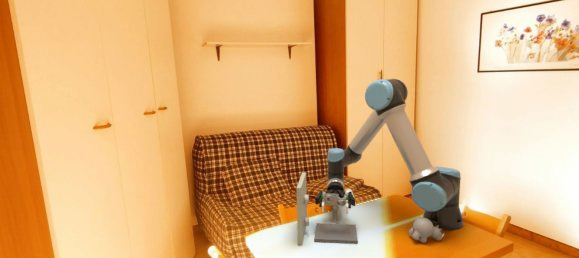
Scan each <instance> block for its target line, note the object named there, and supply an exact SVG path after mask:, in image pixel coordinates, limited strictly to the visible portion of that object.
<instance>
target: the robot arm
mask: <svg viewBox="0 0 579 258" xmlns="http://www.w3.org/2000/svg"><path fill="white" fill-rule="evenodd" d="M365 90H366V91H365V93H364V99H365V103H366V105H367V106H368V107H369V108H370V109H372V112H371V113H370V114H369V116H368V118H366V120H365V122H364V123H363V124H362V126H361V127H360V128H359V130H358V131H357V132H356V134H355V136H354V137H353V138H352V139H351V141H350V143H349V144H348V145H347V147H346V148H345V149H343V148H337V147H334V148H330V149H328V151H327V157H326V158H327V182H326V183H327V185H326V191H323V190H319V191H318V194H317V195H316V197H315V199H314V200H315V201H314V203H315V205H318V206H319V208H321V213H325V206H326V205H325V204H324V200H323V199H321V195H324V193H328V194H338V196H339V197H340V198H343V197H344V195H346V196H348V200H346V205H345V214H349V209H352V207H355V206H356V198H355V196H354V195H353V194H352V193H353V192H352V191H348V192H346V191H345V179H344V178H345V167H347V166H350V165H353V164H356V163H358V162H359V161H361V159H362V157H363V152H365V150H366V149H367V148H368V146H369V145H370V144H371V143H372V141H373V140H374V138H375V137H376V136H377V135H378V133H379V132H380V131H381V130H382V128H383V127H384V126H385V125H386V126H387V129H388V131H389V133H390V135H391V137H392V139H393V141H394V144H395V145H396V148H397V149H398V151H399V154H400V155H401V158H402V159H403V161H404V163H405V166H406V168H407V170H408V172H409V174H410V177H409V179H408V180H409V183H410V186H411V188H412V189H411V198H412V201H413V203H414V204H415V205H416V206H417V207H418V208H419V209H421V210H423V214H422V215H423V216H422V217H423V218H427V219H429V220H430V221H431V222H432V224H433V226H437V225H439V226H438V228H439V229H442V230H447V231H449V230H450V231H451V230H458V229H461V228H462V227H464V218H463V215H462V212H461V208H460V193H461V192H460V191H461V190H460V189H461V179H462V177H461V172H460V171H459V170H458V169H456V168H450V167H443V166H434V165H433V164H432V163H431V160H430V159H429V157H428V156H429V155H427V153H426V150H425V149H424V147H423V145H422V143H421V141H420V139H419V136H418V135H417V133H416V131H415V128H414V127H413V125H412V123H411V121H410V119H409V116H408V115H407V112H406V111H405V110H406V106H407V103H406V100H407V99H408V94H409V93H408V92H409V91H408V87H407V85H406V84H405V83H404V82H403V81H402V80H400V79H396V78H391V79H390V78H389V79H387V78H381V79H378V80H374V81H372V82H371V83H370V84H369V85H368V86H367V87H366V89H365ZM327 199H328V200H330V198H327ZM341 202H343V201H341Z"/></svg>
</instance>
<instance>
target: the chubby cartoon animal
mask: <svg viewBox="0 0 579 258" xmlns="http://www.w3.org/2000/svg"><path fill="white" fill-rule="evenodd" d="M438 226H439V225H437V226H433V224H432V222H431V221H430V220H429V219H427V218H423V216H421V217H418V218H416V219H415V220H414V221H413V223H412V227H411V228H409V230H408V234H409V235H410V236H411V237H412V239H414V240H415V241H419V242H421V243H422V244H426V243H427V241H428V238H429V237H432V238H433V239H434V240H435V241H439V242H440V241H441V240H442V239H443V237H444V236H445V232H443V233H442V230H443V229H439V228H438Z"/></svg>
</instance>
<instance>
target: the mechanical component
mask: <svg viewBox="0 0 579 258" xmlns="http://www.w3.org/2000/svg"><path fill="white" fill-rule="evenodd" d="M327 198H330V200H328V199H327ZM321 199H323V200H324V204H325V206H331V209H332V219H333V221H336V220H337V219H338V214H337V213H338V209H339V207H343V206H344V207H346V200H348V196H346V195H344V197H343V198H340V197H339V196H338V194H328V193H324V195H321ZM342 201H343V202H342Z"/></svg>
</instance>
